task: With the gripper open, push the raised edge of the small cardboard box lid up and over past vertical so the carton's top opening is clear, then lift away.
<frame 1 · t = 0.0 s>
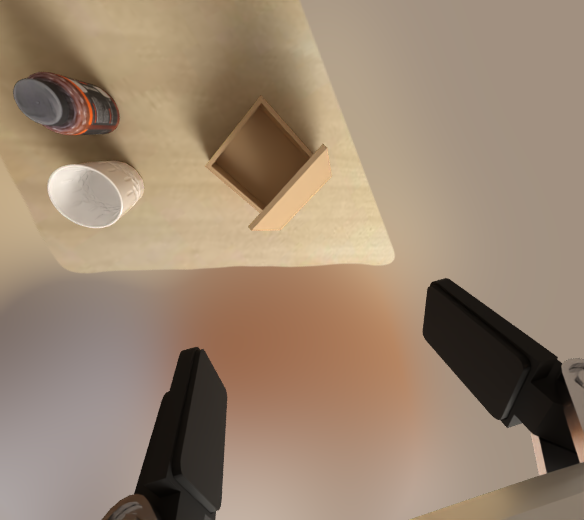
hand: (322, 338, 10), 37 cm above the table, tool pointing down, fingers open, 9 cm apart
cardboard box lid: (296, 197, 33), point 12 cm above the table, hinge at 60.0°
supplement bottle: (97, 110, 34), on the table
carton: (266, 164, 41), on the table
white cup: (121, 182, 39), on the table
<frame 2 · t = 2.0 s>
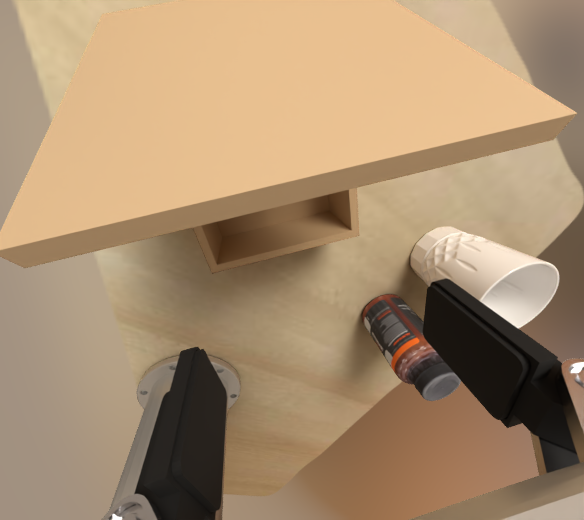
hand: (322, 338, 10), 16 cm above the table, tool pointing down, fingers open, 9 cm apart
cardboard box lid: (253, 56, 8), point 12 cm above the table, hinge at 60.0°
supplement bottle: (380, 309, 33), on the table
carton: (259, 153, 21), on the table
white cup: (434, 251, 30), on the table
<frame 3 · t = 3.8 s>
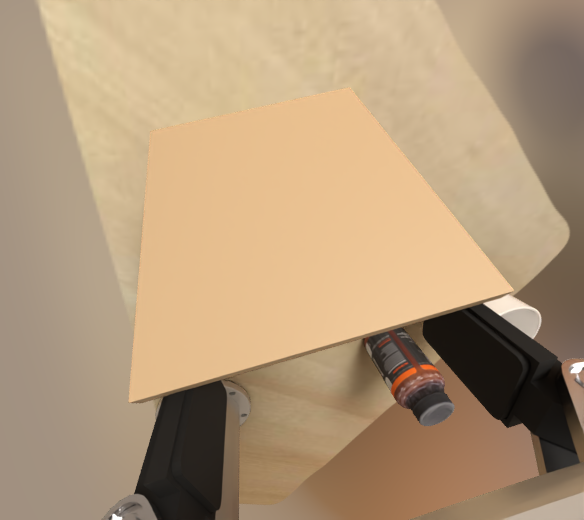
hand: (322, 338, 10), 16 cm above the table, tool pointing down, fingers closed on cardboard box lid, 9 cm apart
cardboard box lid: (280, 192, 11), point 12 cm above the table, hinge at 60.0°, touching gripper
supplement bottle: (381, 334, 35), on the table
white cup: (430, 282, 32), on the table
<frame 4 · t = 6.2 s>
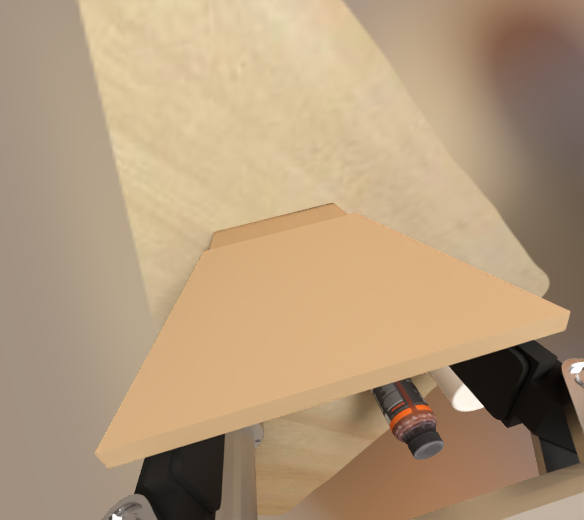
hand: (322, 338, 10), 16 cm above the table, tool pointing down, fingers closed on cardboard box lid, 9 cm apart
cardboard box lid: (298, 271, 12), point 13 cm above the table, hinge at 96.6°, touching gripper
supplement bottle: (381, 369, 39), on the table
carton: (288, 275, 27), on the table
white cup: (425, 326, 36), on the table
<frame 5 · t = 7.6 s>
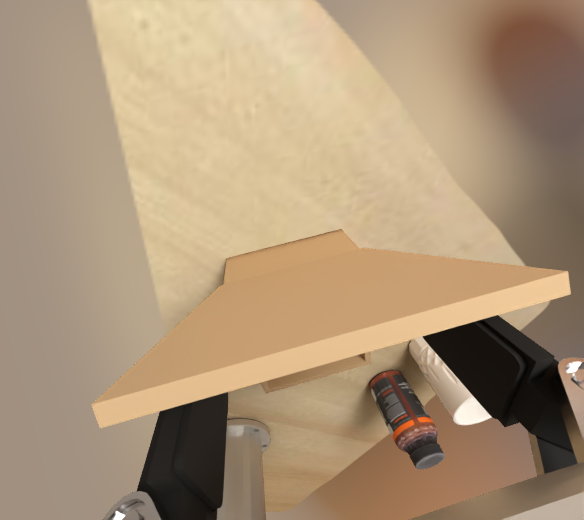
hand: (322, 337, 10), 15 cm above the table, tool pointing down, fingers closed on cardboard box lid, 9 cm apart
cardboard box lid: (306, 287, 13), point 12 cm above the table, hinge at 114.6°, touching gripper
supplement bottle: (384, 379, 40), on the table
carton: (297, 296, 28), on the table
white cup: (427, 339, 37), on the table
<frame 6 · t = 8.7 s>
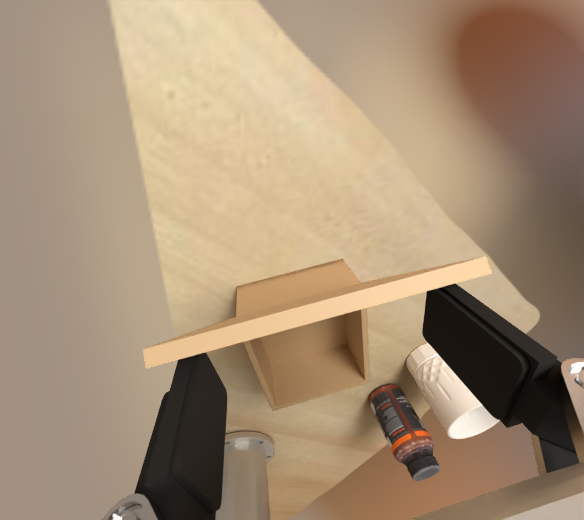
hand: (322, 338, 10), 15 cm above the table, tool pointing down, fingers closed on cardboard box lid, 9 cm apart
cardboard box lid: (307, 304, 15), point 11 cm above the table, hinge at 128.8°, touching gripper
supplement bottle: (383, 392, 42), on the table
carton: (301, 318, 30), on the table
white cup: (424, 355, 39), on the table
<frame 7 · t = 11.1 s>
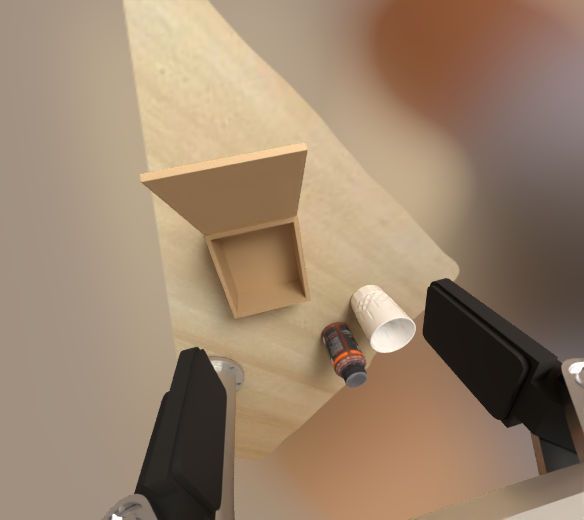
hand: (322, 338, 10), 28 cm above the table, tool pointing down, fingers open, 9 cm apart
cardboard box lid: (241, 200, 24), point 11 cm above the table, hinge at 128.9°
supplement bottle: (334, 331, 51), on the table
carton: (260, 253, 39), on the table
white cup: (365, 297, 48), on the table
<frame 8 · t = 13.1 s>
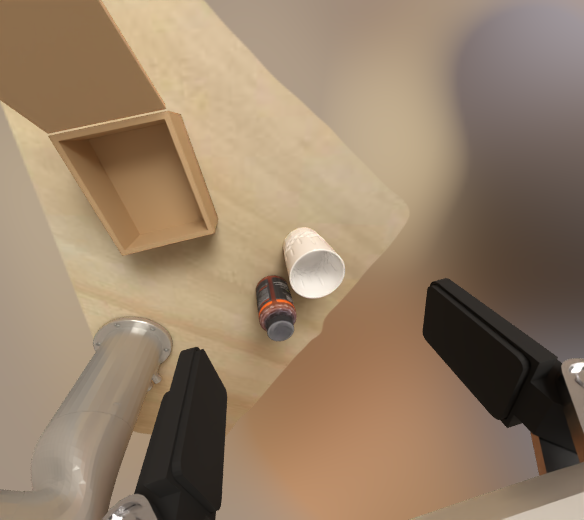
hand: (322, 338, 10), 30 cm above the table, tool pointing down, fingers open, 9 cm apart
cardboard box lid: (40, 49, 18), point 11 cm above the table, hinge at 128.9°
supplement bottle: (271, 287, 45), on the table
carton: (158, 181, 33), on the table
white cup: (301, 244, 42), on the table
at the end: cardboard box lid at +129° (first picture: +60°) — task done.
